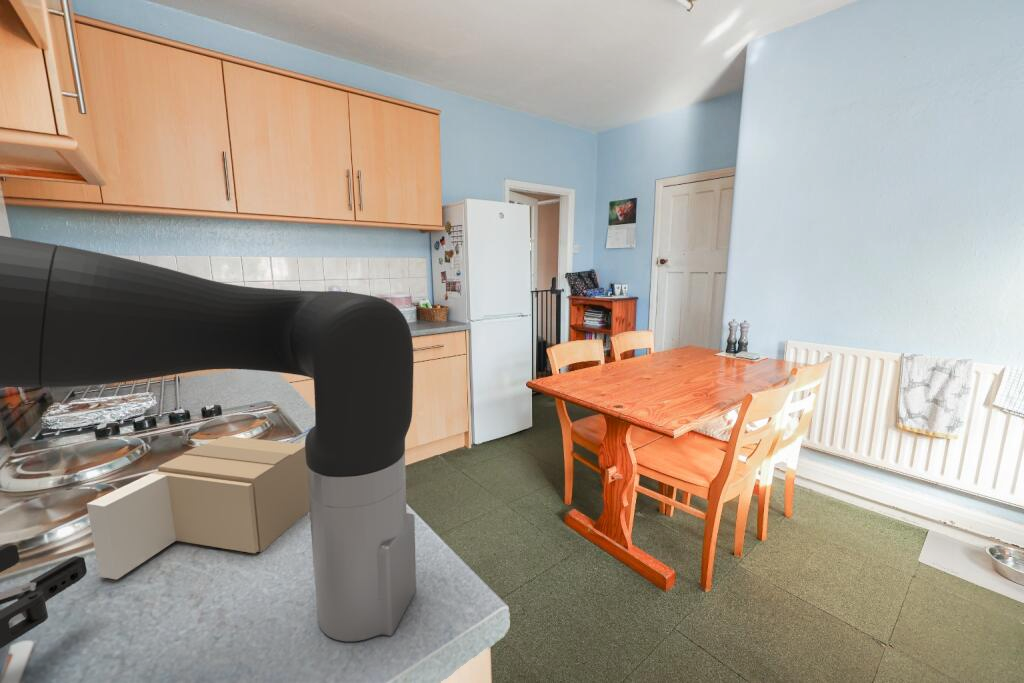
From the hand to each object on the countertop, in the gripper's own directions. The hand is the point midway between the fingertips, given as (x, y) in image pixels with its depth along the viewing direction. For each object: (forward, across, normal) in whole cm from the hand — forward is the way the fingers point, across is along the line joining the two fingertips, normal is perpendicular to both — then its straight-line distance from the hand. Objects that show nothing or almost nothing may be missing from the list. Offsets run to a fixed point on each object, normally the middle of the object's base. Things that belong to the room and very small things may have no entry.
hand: (48, 558), depth 42 cm
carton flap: (+8, -6, +6) cm, 12 cm away
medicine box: (+28, -9, +7) cm, 31 cm away
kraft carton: (+18, -6, +6) cm, 20 cm away
